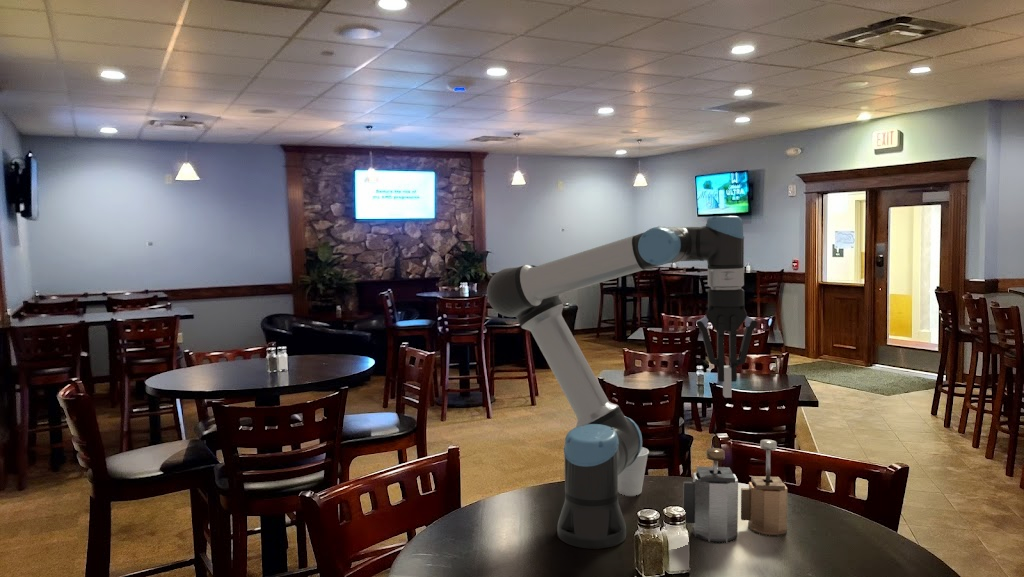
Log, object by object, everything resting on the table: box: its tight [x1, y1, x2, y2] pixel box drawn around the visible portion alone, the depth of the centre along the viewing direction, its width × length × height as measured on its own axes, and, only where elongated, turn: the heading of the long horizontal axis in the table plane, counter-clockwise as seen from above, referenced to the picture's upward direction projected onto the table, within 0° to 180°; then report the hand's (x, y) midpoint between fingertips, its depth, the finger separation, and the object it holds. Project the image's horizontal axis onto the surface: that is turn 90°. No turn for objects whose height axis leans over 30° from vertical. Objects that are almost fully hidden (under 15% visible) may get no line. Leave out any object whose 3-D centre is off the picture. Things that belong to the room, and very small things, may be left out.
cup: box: [618, 446, 650, 497], centre depth 186 cm, size 10×10×11 cm
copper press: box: [740, 475, 788, 538], centre depth 162 cm, size 10×8×11 cm
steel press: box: [682, 466, 739, 544], centre depth 160 cm, size 12×10×14 cm
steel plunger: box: [706, 447, 726, 483], centre depth 159 cm, size 7×7×13 cm
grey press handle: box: [754, 439, 779, 491], centre depth 162 cm, size 6×6×11 cm
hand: (727, 396), depth 158 cm, fingers closed
